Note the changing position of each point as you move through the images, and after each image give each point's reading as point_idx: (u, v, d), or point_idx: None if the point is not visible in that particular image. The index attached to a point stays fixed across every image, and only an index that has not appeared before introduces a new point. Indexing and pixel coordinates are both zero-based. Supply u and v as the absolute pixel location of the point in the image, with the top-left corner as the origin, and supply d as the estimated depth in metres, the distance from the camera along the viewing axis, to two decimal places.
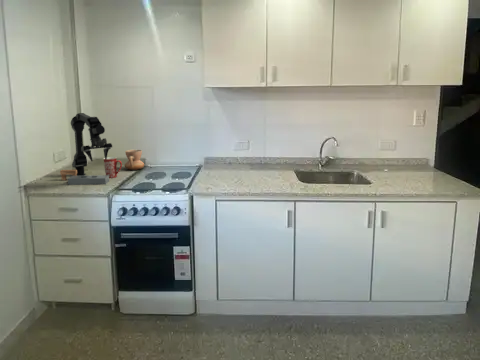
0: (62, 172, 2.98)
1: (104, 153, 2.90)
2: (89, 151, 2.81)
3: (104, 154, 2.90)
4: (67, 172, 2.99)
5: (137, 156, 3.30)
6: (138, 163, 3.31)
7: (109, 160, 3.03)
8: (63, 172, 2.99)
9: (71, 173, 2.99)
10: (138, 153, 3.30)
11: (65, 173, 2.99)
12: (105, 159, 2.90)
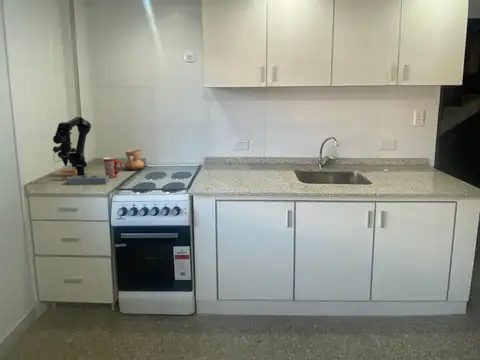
0: (62, 172, 2.98)
1: None
2: None
3: None
4: (67, 172, 2.99)
5: (137, 156, 3.30)
6: (138, 163, 3.31)
7: (109, 160, 3.03)
8: (63, 172, 2.99)
9: (71, 173, 2.99)
10: (138, 153, 3.30)
11: (65, 173, 2.99)
12: (66, 165, 2.95)
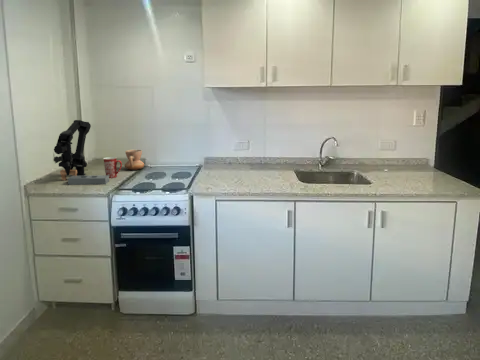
0: (62, 172, 2.98)
1: None
2: None
3: None
4: None
5: (137, 156, 3.30)
6: (138, 163, 3.31)
7: (109, 160, 3.03)
8: (63, 172, 2.99)
9: (71, 173, 2.99)
10: (138, 153, 3.30)
11: (65, 173, 2.99)
12: None
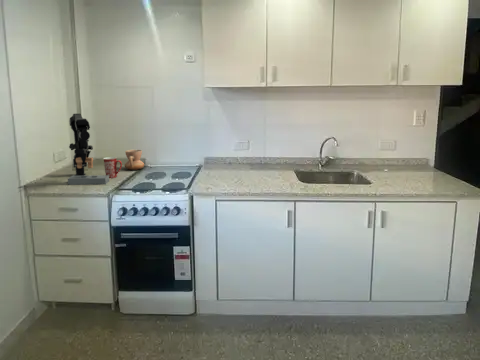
0: (78, 160, 2.88)
1: None
2: None
3: None
4: None
5: (137, 156, 3.30)
6: (138, 163, 3.31)
7: (109, 160, 3.03)
8: (79, 160, 2.88)
9: (87, 161, 2.88)
10: (138, 153, 3.30)
11: (81, 161, 2.88)
12: (84, 162, 2.88)
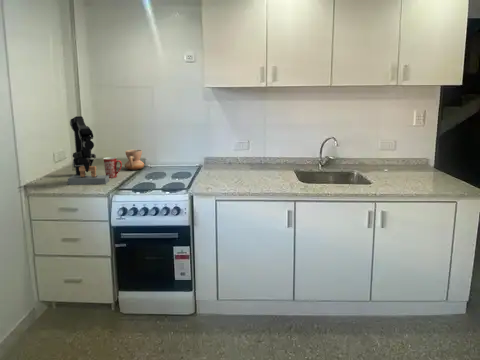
0: (81, 168, 2.88)
1: None
2: None
3: (88, 166, 2.88)
4: None
5: (137, 156, 3.30)
6: (138, 163, 3.31)
7: (109, 160, 3.03)
8: (82, 169, 2.88)
9: (90, 169, 2.89)
10: (138, 153, 3.30)
11: (84, 169, 2.89)
12: (87, 171, 2.89)
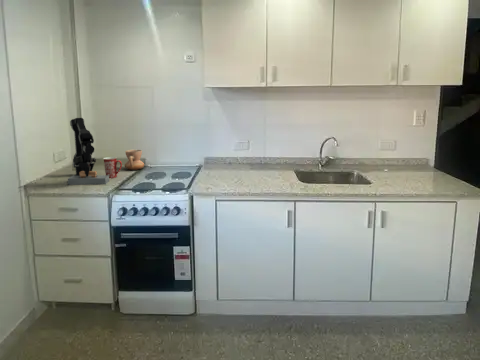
0: (81, 173, 2.89)
1: None
2: None
3: (88, 171, 2.88)
4: None
5: (137, 156, 3.30)
6: (138, 163, 3.31)
7: (109, 160, 3.03)
8: (83, 174, 2.89)
9: (91, 174, 2.89)
10: (138, 153, 3.30)
11: (84, 174, 2.89)
12: None
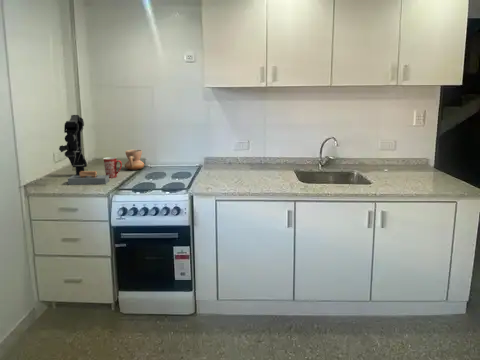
0: (81, 173, 2.89)
1: None
2: None
3: None
4: (86, 173, 2.89)
5: (137, 156, 3.30)
6: (138, 163, 3.31)
7: (109, 160, 3.03)
8: (83, 174, 2.89)
9: (91, 174, 2.89)
10: (138, 153, 3.30)
11: (84, 174, 2.89)
12: (73, 165, 2.90)
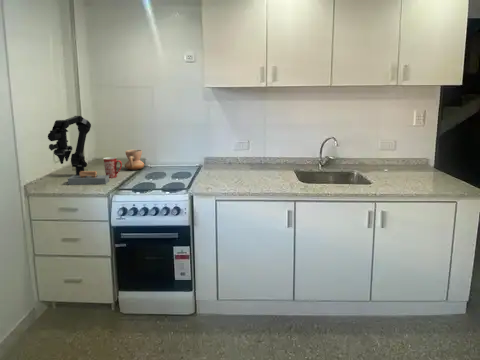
0: (81, 173, 2.89)
1: None
2: None
3: None
4: (86, 173, 2.89)
5: (137, 156, 3.30)
6: (138, 163, 3.31)
7: (109, 160, 3.03)
8: (83, 174, 2.89)
9: (91, 174, 2.89)
10: (138, 153, 3.30)
11: (84, 174, 2.89)
12: (62, 163, 2.93)
